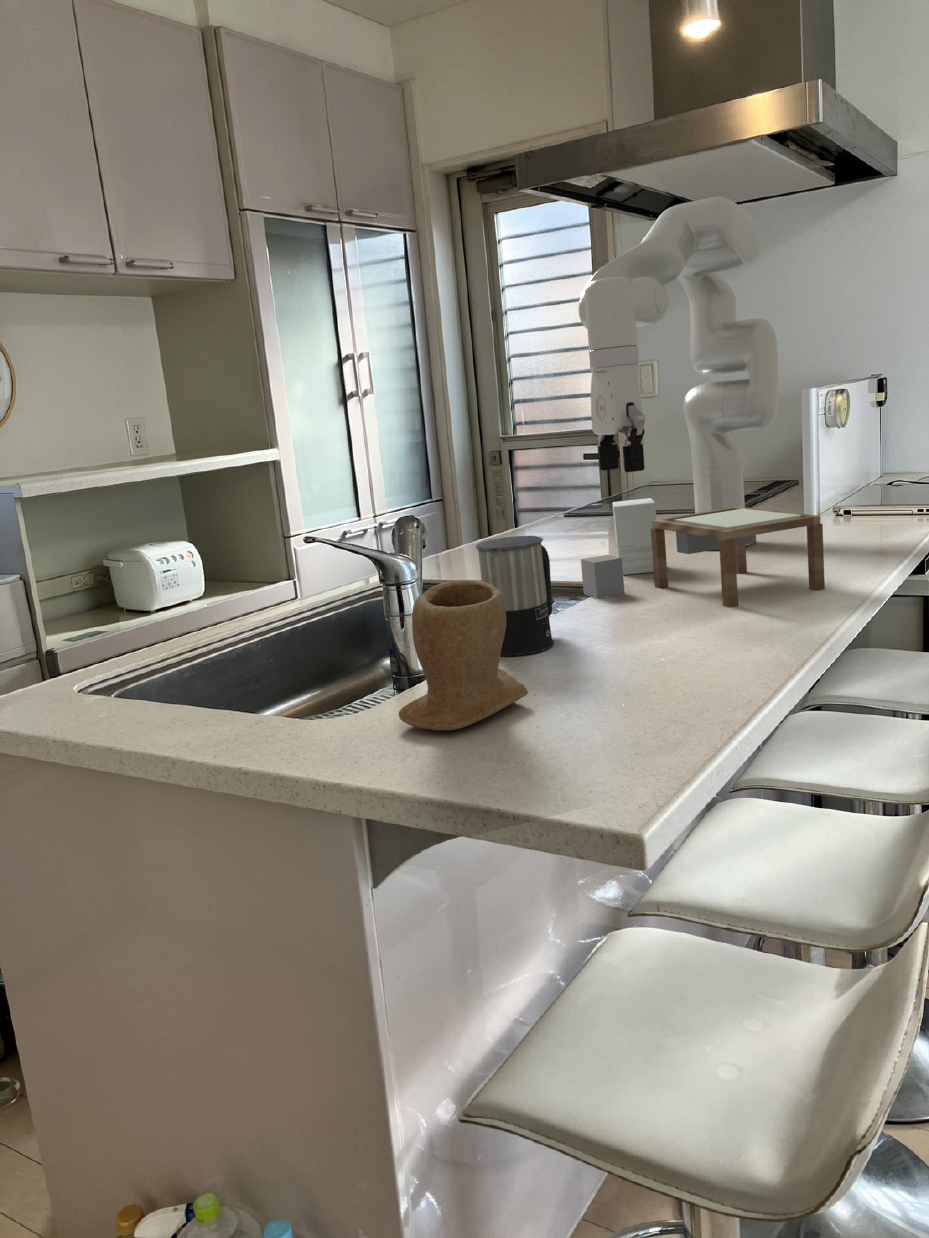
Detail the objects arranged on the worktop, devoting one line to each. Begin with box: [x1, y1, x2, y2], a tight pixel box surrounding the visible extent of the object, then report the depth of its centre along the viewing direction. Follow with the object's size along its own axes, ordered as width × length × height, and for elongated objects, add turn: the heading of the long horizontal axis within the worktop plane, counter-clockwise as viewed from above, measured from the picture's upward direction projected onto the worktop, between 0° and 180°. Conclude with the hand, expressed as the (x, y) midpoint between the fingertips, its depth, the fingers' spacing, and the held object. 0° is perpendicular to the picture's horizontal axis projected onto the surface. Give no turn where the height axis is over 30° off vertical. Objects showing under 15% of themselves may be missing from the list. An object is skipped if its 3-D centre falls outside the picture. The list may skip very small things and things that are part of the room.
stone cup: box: [397, 579, 529, 731], centre depth 109 cm, size 15×12×15 cm
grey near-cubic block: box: [580, 554, 625, 599], centre depth 167 cm, size 5×5×6 cm
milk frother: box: [475, 535, 555, 657], centre depth 140 cm, size 14×16×15 cm
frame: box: [651, 506, 826, 608], centre depth 160 cm, size 22×17×11 cm
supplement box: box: [612, 497, 657, 576], centre depth 183 cm, size 7×7×13 cm
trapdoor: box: [675, 509, 801, 555], centre depth 158 cm, size 15×13×5 cm
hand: (621, 470), depth 162 cm, fingers open, 9 cm apart
